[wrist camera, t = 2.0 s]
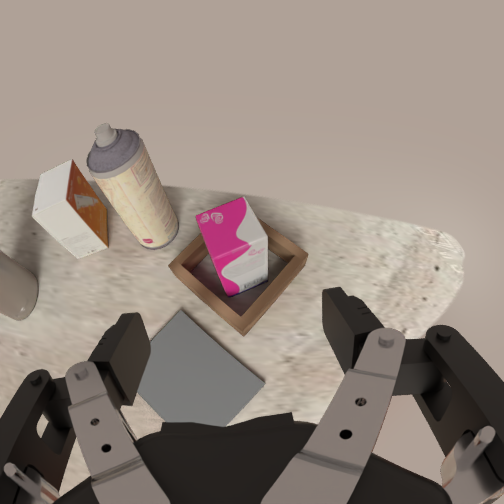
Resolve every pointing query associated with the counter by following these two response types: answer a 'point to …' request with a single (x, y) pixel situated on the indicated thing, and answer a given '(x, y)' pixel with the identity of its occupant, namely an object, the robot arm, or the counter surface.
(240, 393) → the slate mat
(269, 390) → the counter surface
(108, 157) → the aerosol can
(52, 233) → the small box
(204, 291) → the tray
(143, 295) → the counter surface
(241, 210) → the supplement box
